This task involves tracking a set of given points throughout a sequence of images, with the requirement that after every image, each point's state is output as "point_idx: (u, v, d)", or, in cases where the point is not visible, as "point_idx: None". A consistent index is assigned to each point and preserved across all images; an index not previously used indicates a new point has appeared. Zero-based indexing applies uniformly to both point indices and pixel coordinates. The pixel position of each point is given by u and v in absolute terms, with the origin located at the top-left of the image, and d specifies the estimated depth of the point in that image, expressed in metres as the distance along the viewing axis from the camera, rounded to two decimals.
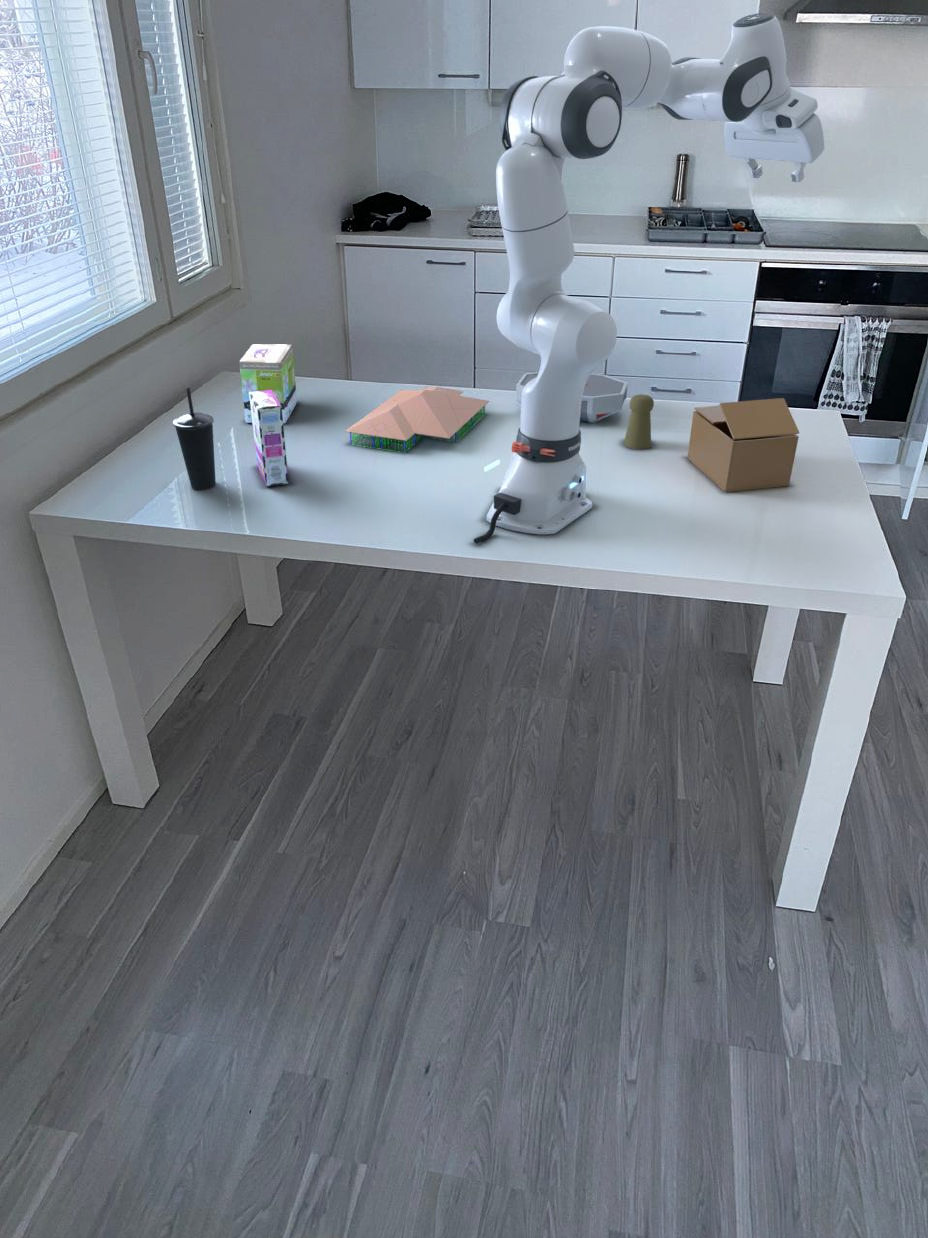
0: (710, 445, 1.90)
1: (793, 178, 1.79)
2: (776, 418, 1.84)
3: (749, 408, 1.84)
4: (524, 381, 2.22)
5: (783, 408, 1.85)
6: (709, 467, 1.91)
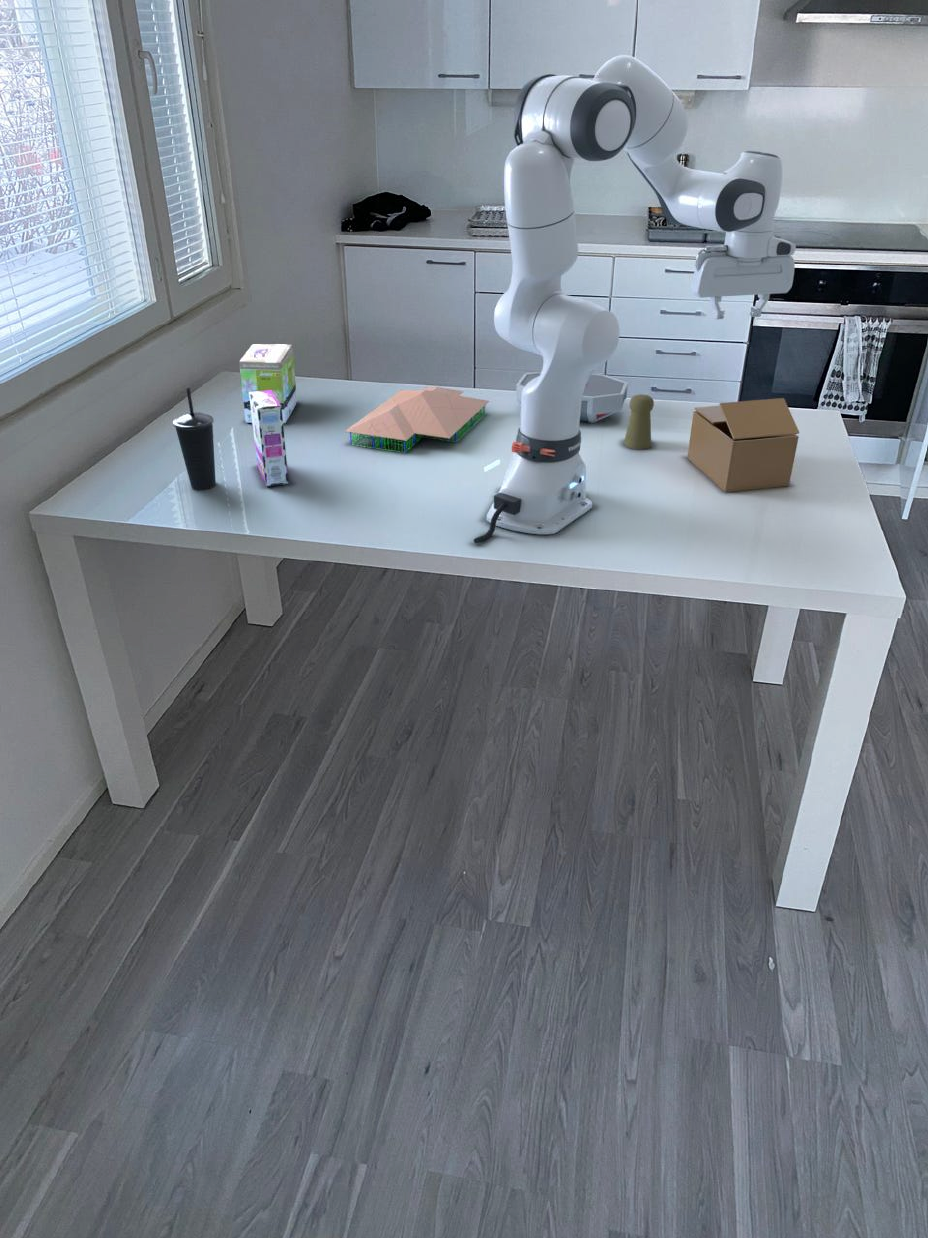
0: (710, 445, 1.90)
1: (756, 313, 1.87)
2: (776, 418, 1.84)
3: (749, 408, 1.84)
4: (524, 381, 2.22)
5: (783, 408, 1.85)
6: (709, 467, 1.91)
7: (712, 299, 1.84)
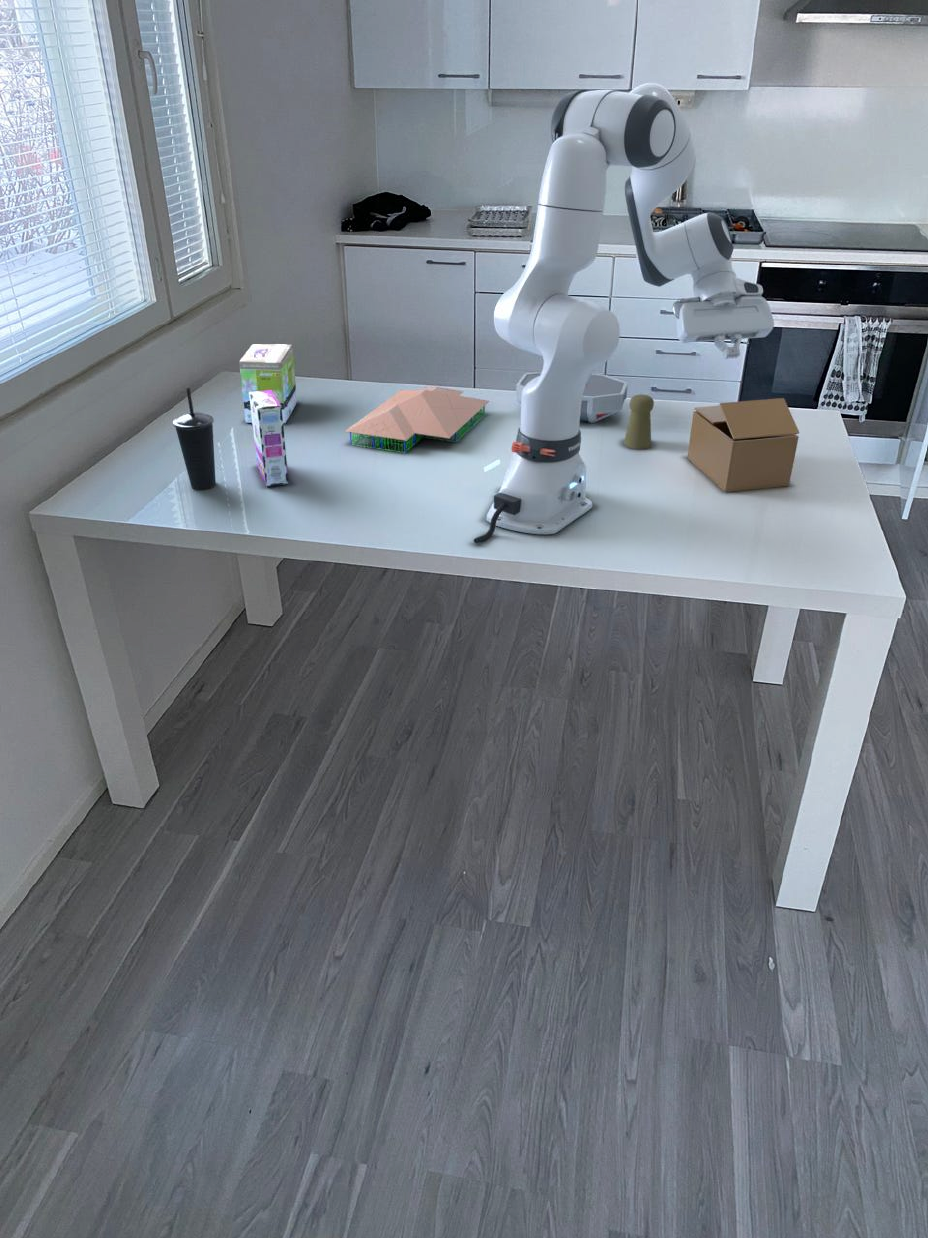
0: (710, 445, 1.90)
1: (735, 350, 1.91)
2: (776, 418, 1.84)
3: (749, 408, 1.84)
4: (524, 381, 2.22)
5: (783, 408, 1.85)
6: (709, 467, 1.91)
7: (716, 340, 1.91)
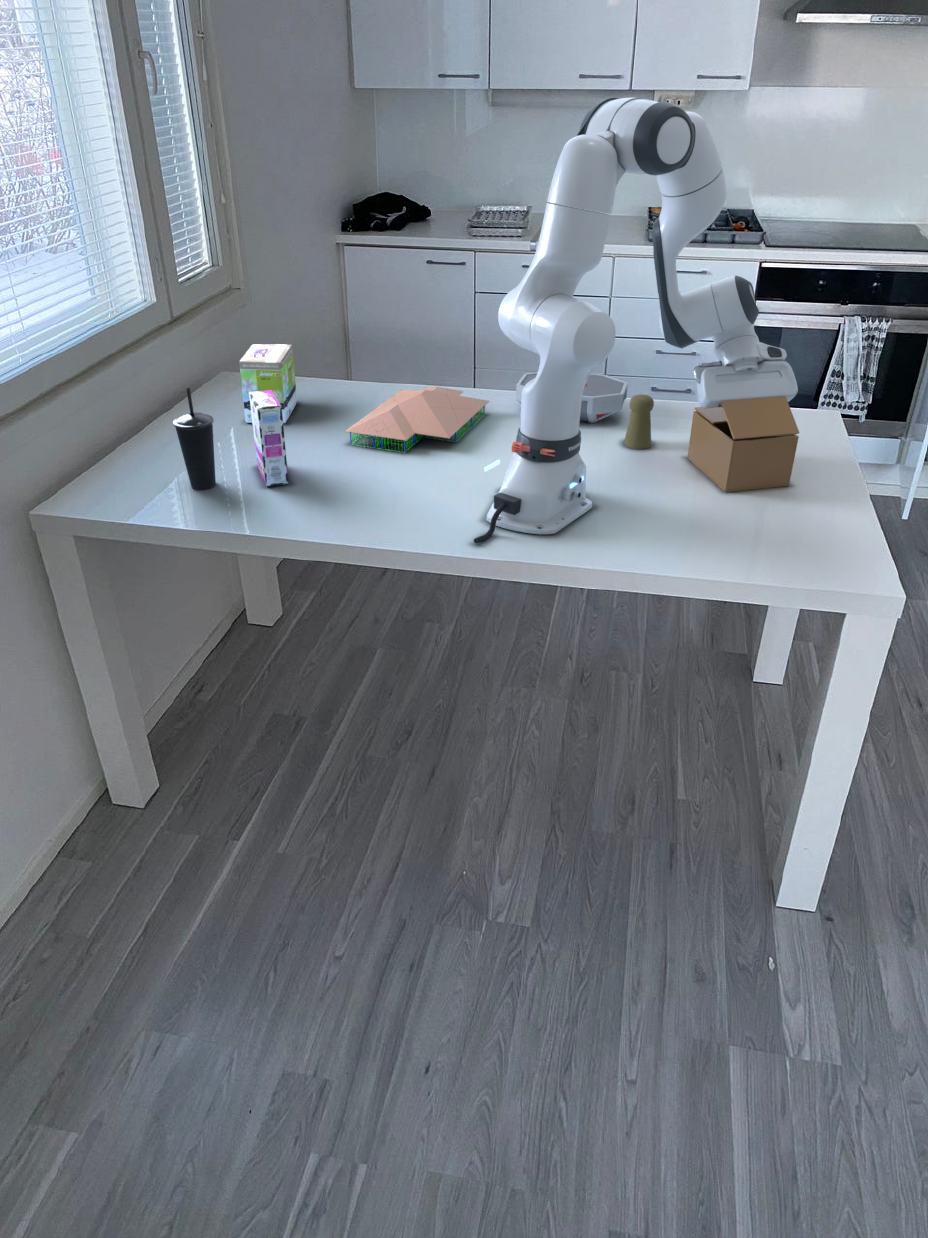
0: (710, 445, 1.90)
1: None
2: (776, 417, 1.84)
3: (750, 407, 1.84)
4: (524, 381, 2.22)
5: (784, 406, 1.85)
6: (709, 467, 1.91)
7: None
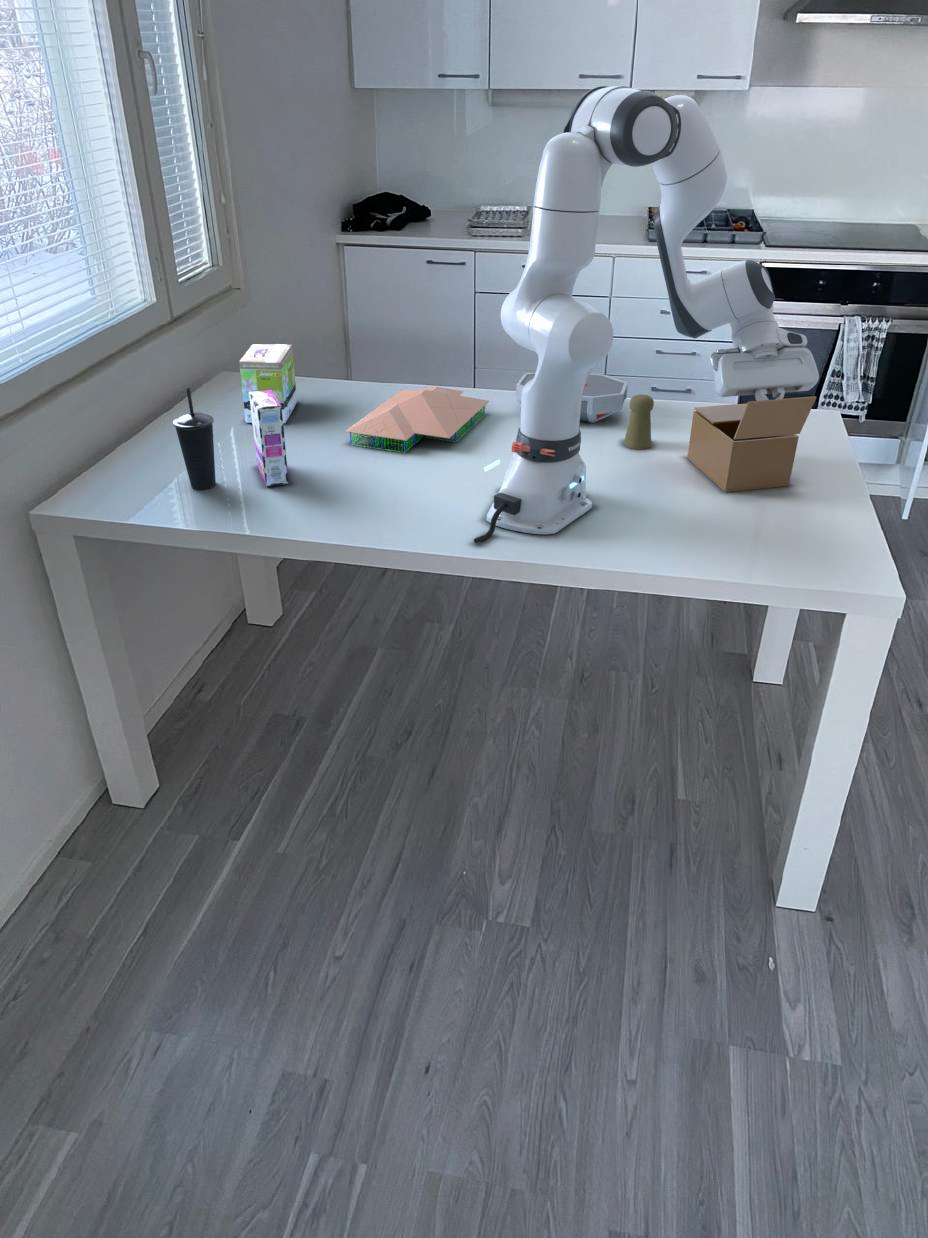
0: (710, 445, 1.90)
1: None
2: (790, 419, 1.79)
3: (772, 409, 1.76)
4: (524, 381, 2.22)
5: (806, 408, 1.78)
6: (709, 467, 1.91)
7: (757, 395, 1.78)
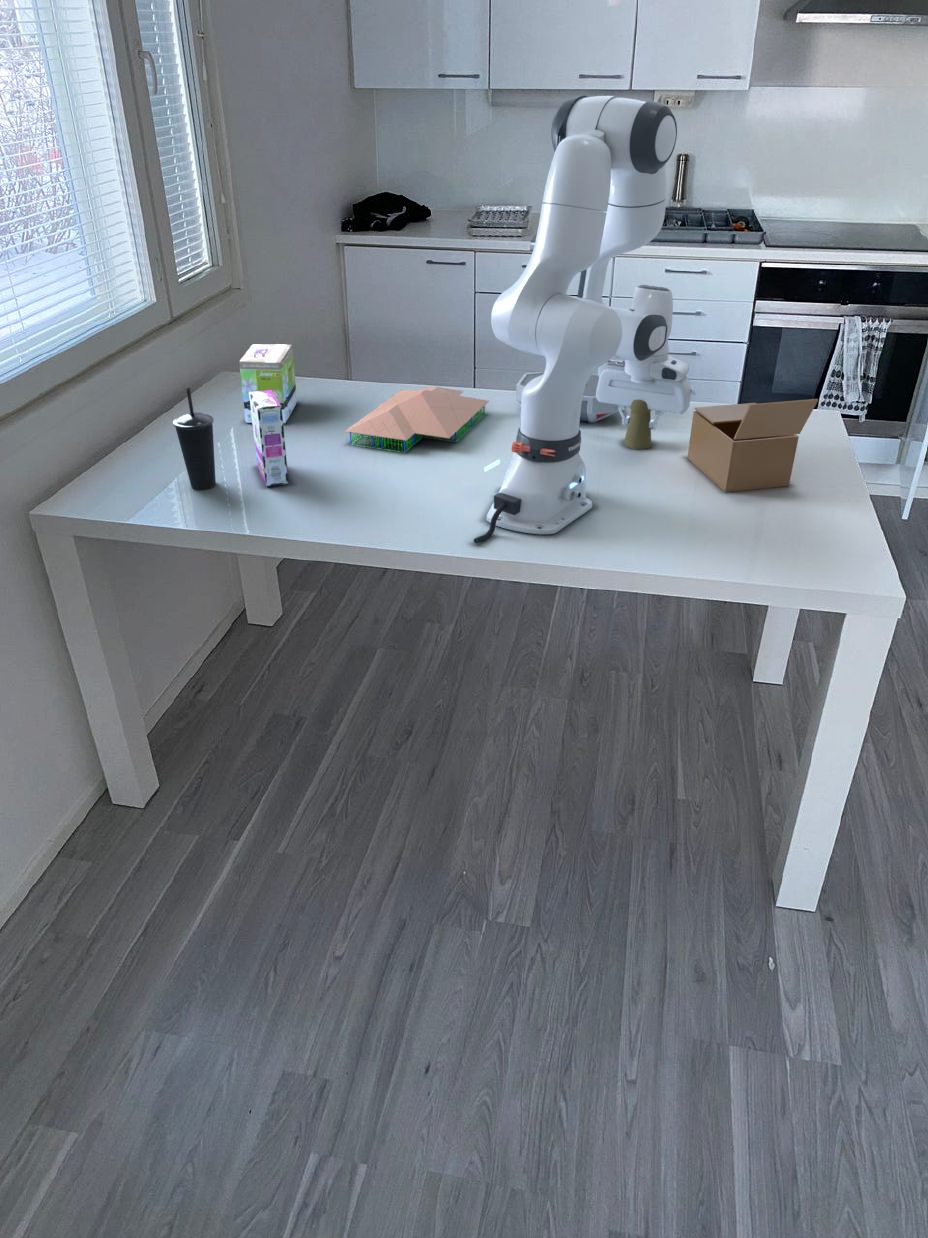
0: (710, 445, 1.90)
1: (650, 425, 2.03)
2: (791, 420, 1.79)
3: (773, 411, 1.76)
4: (524, 381, 2.22)
5: (807, 410, 1.77)
6: (709, 467, 1.91)
7: None
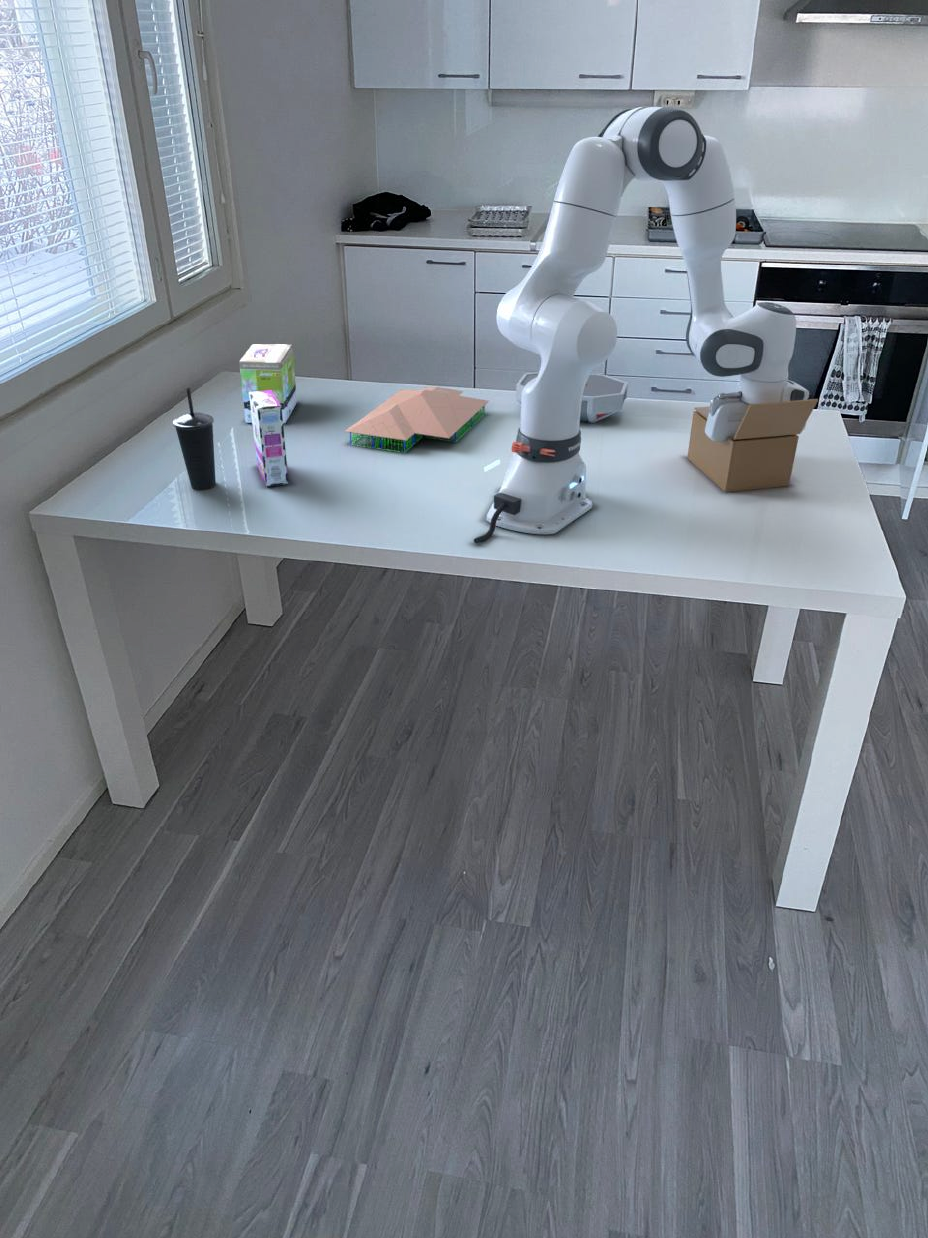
0: (710, 445, 1.90)
1: None
2: (791, 420, 1.79)
3: (773, 411, 1.76)
4: (524, 381, 2.22)
5: (807, 410, 1.77)
6: (709, 467, 1.91)
7: None
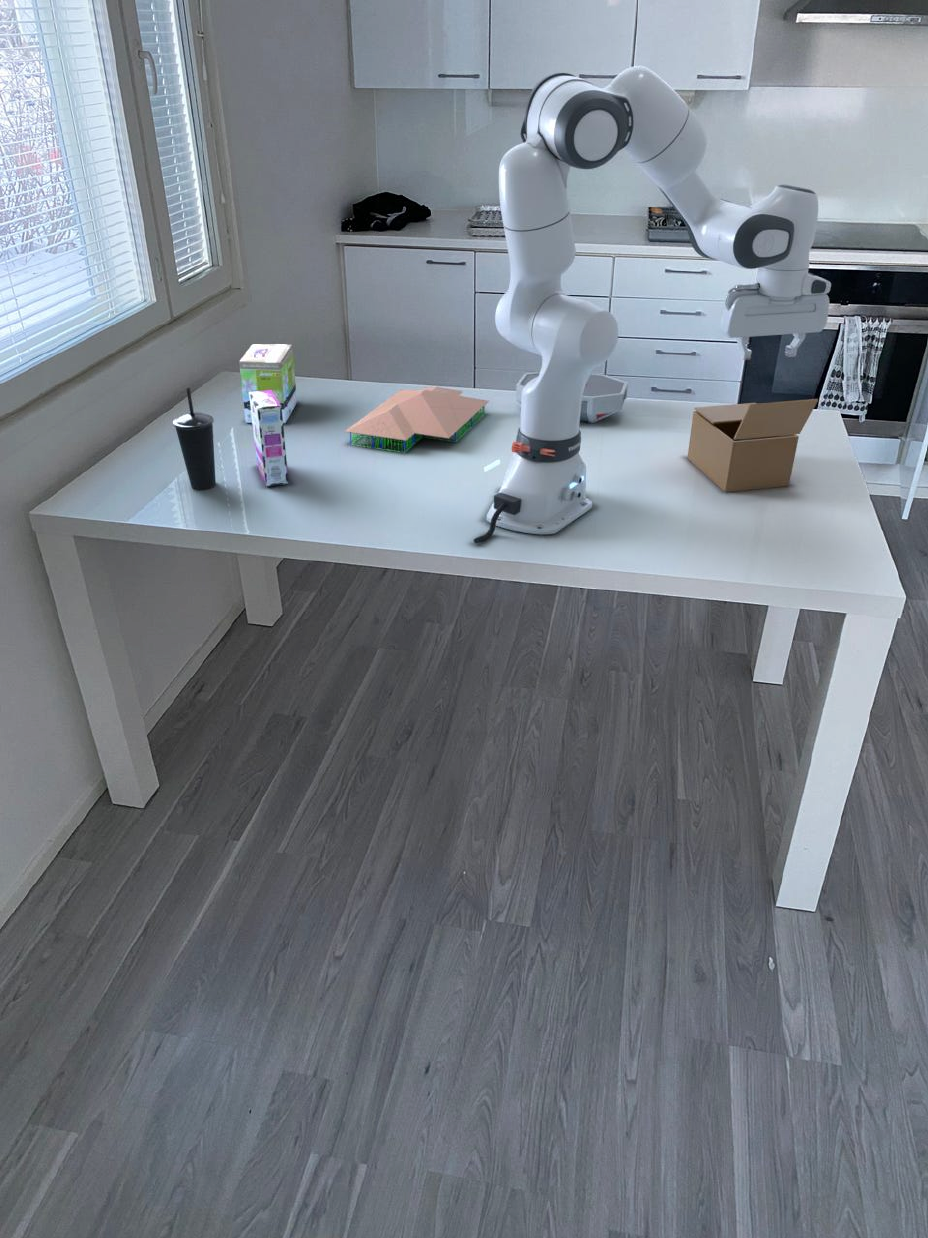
0: (710, 445, 1.90)
1: (791, 352, 1.78)
2: (791, 420, 1.79)
3: (773, 411, 1.76)
4: (524, 381, 2.22)
5: (807, 410, 1.77)
6: (709, 467, 1.91)
7: (739, 339, 1.75)
